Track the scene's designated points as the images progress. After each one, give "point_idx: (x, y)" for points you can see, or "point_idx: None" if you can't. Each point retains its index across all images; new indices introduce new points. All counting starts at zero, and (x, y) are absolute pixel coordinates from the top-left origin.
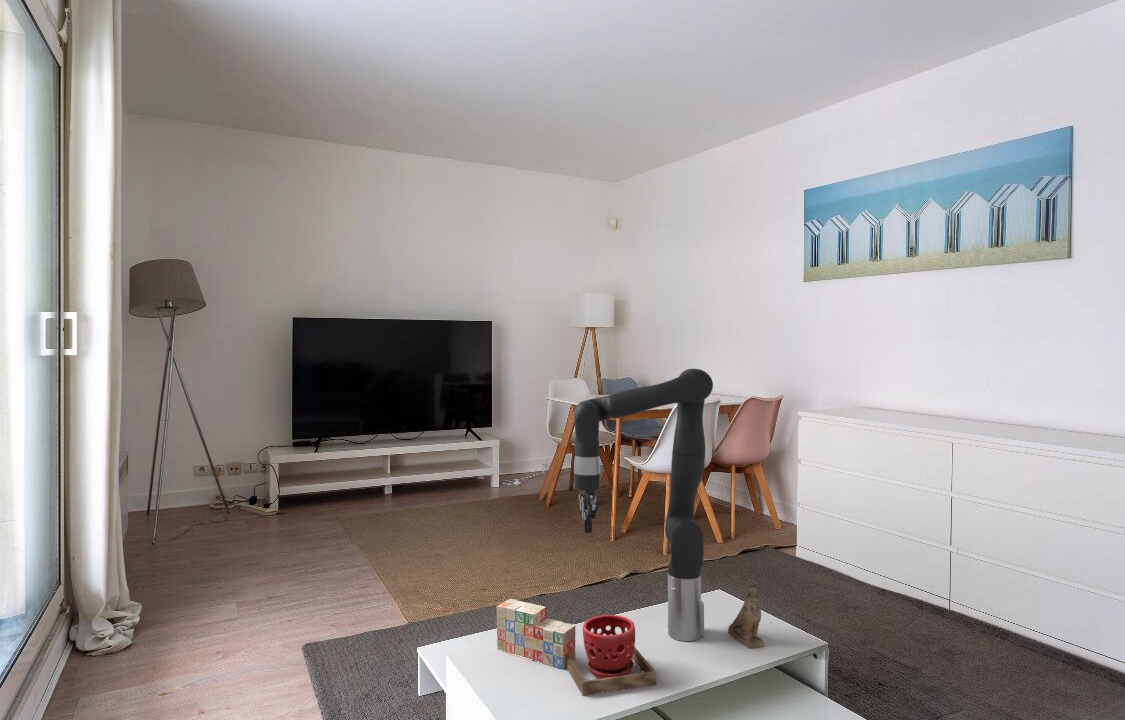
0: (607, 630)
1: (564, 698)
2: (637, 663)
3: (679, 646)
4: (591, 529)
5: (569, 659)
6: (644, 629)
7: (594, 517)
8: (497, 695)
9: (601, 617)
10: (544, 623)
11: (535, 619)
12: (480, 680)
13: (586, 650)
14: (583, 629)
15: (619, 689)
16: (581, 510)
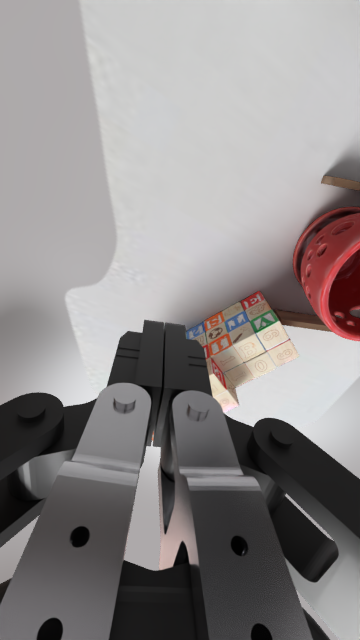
0: (320, 251)
1: (349, 350)
2: (353, 189)
3: (351, 5)
4: (203, 349)
5: (295, 324)
6: (207, 41)
7: (305, 445)
8: (285, 413)
9: (333, 280)
10: (233, 369)
11: (234, 393)
12: (237, 420)
13: (335, 314)
14: (350, 339)
15: None
16: (33, 516)
